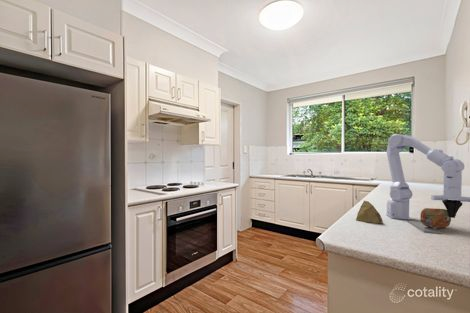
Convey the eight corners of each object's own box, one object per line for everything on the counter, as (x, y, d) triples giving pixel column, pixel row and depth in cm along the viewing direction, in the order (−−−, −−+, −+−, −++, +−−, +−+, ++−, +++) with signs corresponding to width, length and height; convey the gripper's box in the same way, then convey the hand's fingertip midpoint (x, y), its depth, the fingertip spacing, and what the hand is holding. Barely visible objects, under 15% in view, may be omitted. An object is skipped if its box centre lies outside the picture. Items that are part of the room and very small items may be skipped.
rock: (389, 218, 110) (369, 210, 119) (384, 205, 107) (364, 199, 116) (375, 233, 107) (356, 224, 116) (370, 221, 104) (351, 213, 113)
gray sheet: (423, 232, 97) (423, 230, 97) (408, 222, 111) (408, 220, 111) (440, 233, 95) (440, 231, 95) (422, 223, 110) (422, 221, 110)
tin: (425, 227, 99) (426, 208, 99) (418, 225, 102) (419, 206, 103) (451, 228, 103) (452, 209, 103) (443, 226, 106) (444, 208, 106)
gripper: (437, 187, 99) (437, 218, 99) (479, 188, 95) (479, 221, 95) (429, 185, 106) (428, 214, 106) (467, 186, 101) (467, 216, 102)
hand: (451, 217), depth 101 cm, fingers closed
